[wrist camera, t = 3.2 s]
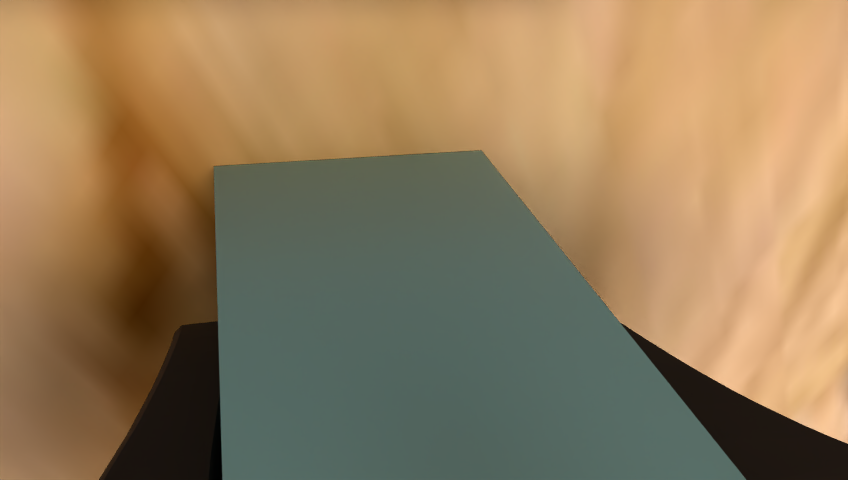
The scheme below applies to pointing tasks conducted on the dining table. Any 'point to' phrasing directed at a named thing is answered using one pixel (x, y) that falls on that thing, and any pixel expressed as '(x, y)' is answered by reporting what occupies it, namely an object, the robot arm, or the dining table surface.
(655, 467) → the block
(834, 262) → the dining table surface
